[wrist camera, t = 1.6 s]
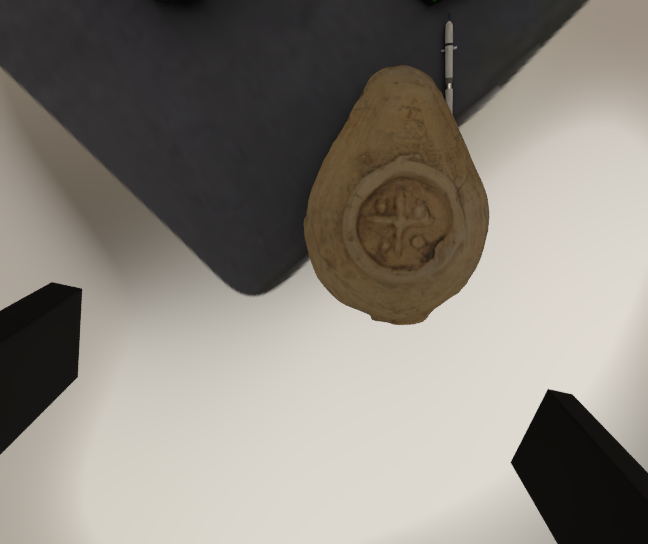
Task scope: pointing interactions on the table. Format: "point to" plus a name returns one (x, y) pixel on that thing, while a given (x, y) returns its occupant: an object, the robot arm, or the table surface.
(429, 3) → the computer mouse
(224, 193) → the table surface
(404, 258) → the oil lamp
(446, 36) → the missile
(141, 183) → the table surface
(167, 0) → the beverage can
